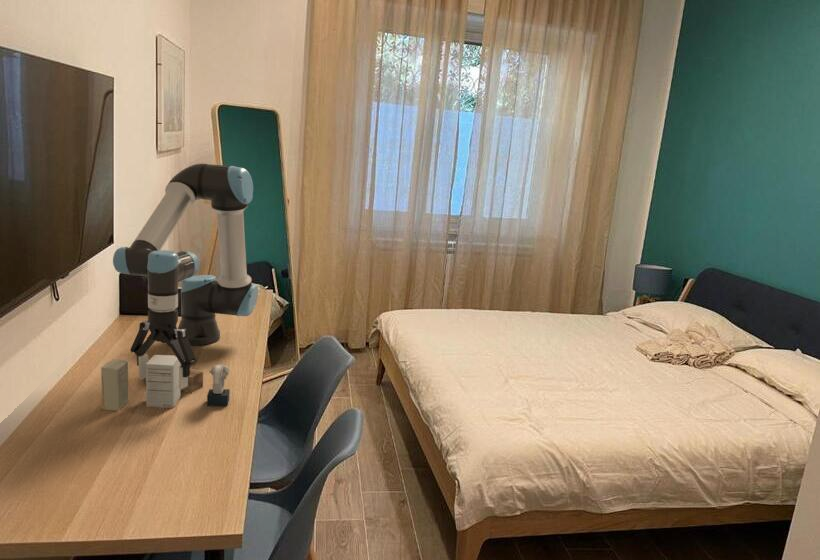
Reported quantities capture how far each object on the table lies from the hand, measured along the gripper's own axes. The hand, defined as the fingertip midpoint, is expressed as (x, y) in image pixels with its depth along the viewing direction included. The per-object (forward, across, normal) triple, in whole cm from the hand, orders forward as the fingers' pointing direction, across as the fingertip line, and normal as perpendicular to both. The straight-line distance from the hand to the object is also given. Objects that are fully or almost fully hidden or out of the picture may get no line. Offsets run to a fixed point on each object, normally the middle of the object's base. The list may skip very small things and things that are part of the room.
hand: (163, 382), depth 164 cm
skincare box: (+6, -9, -8) cm, 13 cm away
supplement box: (+6, 0, 0) cm, 6 cm away
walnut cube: (+6, 0, +11) cm, 13 cm away
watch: (+6, +13, +7) cm, 16 cm away
